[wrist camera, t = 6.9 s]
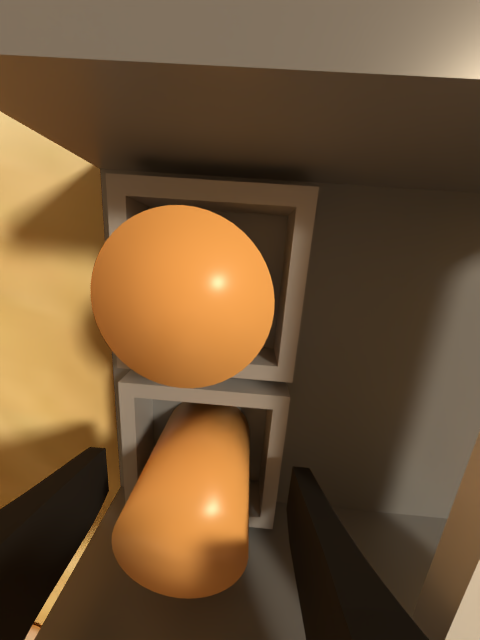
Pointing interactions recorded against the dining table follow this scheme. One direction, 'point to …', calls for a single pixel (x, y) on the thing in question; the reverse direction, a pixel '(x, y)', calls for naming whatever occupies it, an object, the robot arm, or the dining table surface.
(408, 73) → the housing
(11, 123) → the dining table surface
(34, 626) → the milk bottle
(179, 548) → the orange rounded block
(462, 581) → the lid
